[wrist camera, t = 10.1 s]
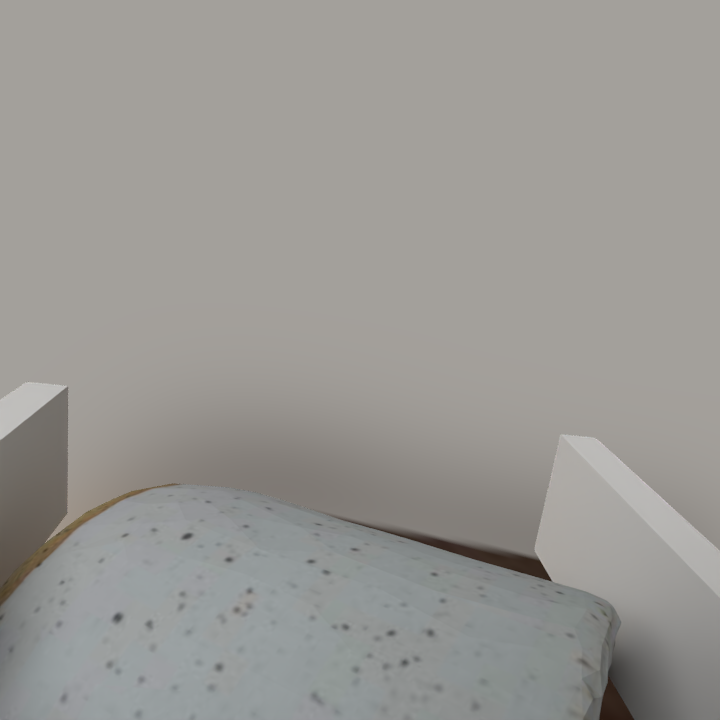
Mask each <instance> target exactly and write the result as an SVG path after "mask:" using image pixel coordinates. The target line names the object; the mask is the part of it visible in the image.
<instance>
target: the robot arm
mask: <svg viewBox="0 0 720 720" xmlns="http://www.w3.org/2000/svg"><path fill="white" fill-rule="evenodd" d="M67 448H68V386H63V385H53V384H43V383H32V382H26V383H24V384H23V385H21V386H20V387H18V388H17V389H16V390H14V391H13V392H11V393H10V394H8V395H7V396H5V397H4V398H2V399H1V400H0V588H1V586H2V585H3V584H4V583H5V582H6V580H7V579H8V578H9V577H10V576H11V575H12V573H13V572H14V571H15V570H16V569H17V568H18V567H19V566H20V565H21V564H22V563H24V562H25V561H26V560H27V559H28V558H29V557H30V556H31V555H32V554H33V553H35V552H36V551H37V550H38V549H39V548H40V547H41V546H42V545H43V544H44V543H45V542H46V540H47V539H48V538H49V536H50V535H51V534H52V533H53V531H54V530H55V528H56V527H57V526H58V525H59V523H60V522H61V521H62V519H63V518H64V517H65V516H66V514H67V472H68V452H67V451H68V449H67ZM534 551H535V552H536V554H537V556H538V557H539V559H540V561H541V563H542V564H543V566H544V568H545V569H546V571H547V573H548V574H549V576H550V578H551V579H552V581H553V582H555V583H558V584H562V585H565V586H569V587H572V588H576V589H579V590H583V591H586V592H588V593H591V594H593V595H595V596H597V597H600V598H602V599H604V600H607V601H608V602H609V603H610V604H611V605H612V606H613V607H614V609H615V610H616V612H617V614H618V616H619V618H620V620H621V625H620V627H619V629H618V632H617V634H616V638H615V647H614V650H613V653H612V664H611V666H610V668H609V671H608V676H609V677H610V679H611V681H612V683H613V684H614V686H615V688H616V689H617V691H618V693H619V694H620V696H621V698H622V699H623V701H624V703H625V705H626V706H627V708H628V710H629V711H630V713H631V715H632V716H633V718H634V720H720V551H719V550H718V549H717V548H716V547H715V546H714V545H713V544H712V543H711V542H710V541H708V540H707V539H706V538H705V537H704V536H703V535H702V534H701V533H700V532H699V531H697V530H696V529H695V528H694V527H693V526H692V525H691V524H690V523H689V522H687V521H686V520H685V519H684V518H683V517H682V516H681V515H680V514H679V513H678V512H676V511H675V510H674V509H673V508H672V507H671V506H670V505H669V504H668V503H667V502H666V501H664V500H663V499H662V498H661V497H660V496H659V495H658V494H657V493H656V492H655V491H653V490H652V489H651V488H650V487H649V486H648V485H647V484H646V483H645V482H644V481H643V480H641V479H640V478H639V477H638V476H637V475H636V474H635V473H633V471H632V470H630V469H629V468H628V467H627V466H626V465H625V464H624V463H622V461H621V460H619V459H618V458H617V457H616V456H615V455H614V454H613V453H612V452H611V451H610V450H608V449H607V448H606V447H605V446H604V445H603V444H602V443H601V442H600V441H599V440H597V439H596V438H593V437H583V436H573V435H563V434H561V435H560V439H559V443H558V448H557V452H556V457H555V461H554V465H553V470H552V474H551V479H550V483H549V487H548V491H547V496H546V500H545V505H544V509H543V514H542V518H541V523H540V526H539V531H538V536H537V540H536V544H535V548H534Z"/></svg>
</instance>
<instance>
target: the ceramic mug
mask: <svg viewBox="0 0 720 720" xmlns="http://www.w3.org/2000/svg"><path fill="white" fill-rule="evenodd" d="M620 625H621V620H620V618H619V616H618V614H617V612H616V610H615V609H614V607H613V606H612V605H611V604H610V603H609V602H608V601H607V600H604V599H602V598H600V597H597V596H595V595H593V594H591V593H588V592H586V591H583V590H579V589H576V588H572V587H569V586H565V585H562V584H558V583H555V582H551V581H547V580H544V579H540V578H537V577H533V576H530V575H526V574H523V573H519V572H516V571H512V570H509V569H505V568H502V567H498V566H495V565H491V564H488V563H484V562H481V561H477V560H473V559H470V558H467V557H464V556H460V555H457V554H454V553H451V552H448V551H444V550H441V549H438V548H435V547H432V546H428V545H425V544H422V543H419V542H416V541H412V540H409V539H405V538H402V537H399V536H395V535H392V534H389V533H385V532H382V531H378V530H375V529H371V528H368V527H364V526H361V525H357V524H353V523H350V522H346V521H342V520H339V519H336V518H334V517H331V516H328V515H325V514H322V513H319V512H316V511H313V510H311V509H308V508H305V507H302V506H299V505H296V504H293V503H290V502H287V501H284V500H281V499H277V498H274V497H270V496H267V495H263V494H260V493H256V492H250V491H245V490H239V489H234V488H227V487H214V486H199V485H186V484H168V485H162V486H157V487H152V488H146V489H141V490H136V491H131V492H129V493H127V494H124V495H122V496H119V497H117V498H115V499H112V500H110V501H108V502H106V503H104V504H102V505H100V506H98V507H96V508H94V509H92V510H90V511H88V512H86V513H85V514H83V515H82V516H81V517H79V518H78V519H77V520H75V521H74V522H73V523H71V524H70V525H69V526H67V527H66V528H65V529H63V530H62V531H61V532H59V533H58V534H57V535H56V536H54V537H53V538H51V539H50V540H49V541H47V542H46V543H45V544H43V545H42V546H41V547H40V548H39V549H38V550H37V551H36V552H35V553H33V554H32V555H31V556H30V557H29V558H28V559H27V560H26V561H25V562H24V563H22V564H21V565H20V566H19V567H18V568H17V569H16V570H15V571H14V572H13V573H12V575H11V576H10V577H9V578H8V579H7V580H6V582H5V583H4V584H3V585H2V586H1V588H0V720H599V716H600V710H601V704H602V699H603V694H604V691H605V688H606V685H607V682H608V671H609V668H610V666H611V664H612V653H613V650H614V647H615V638H616V634H617V632H618V629H619V627H620Z"/></svg>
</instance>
